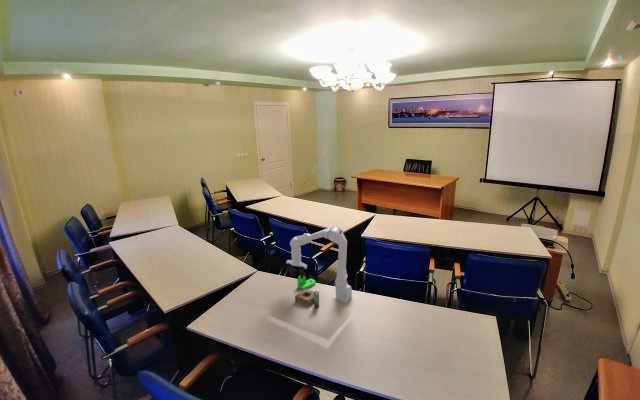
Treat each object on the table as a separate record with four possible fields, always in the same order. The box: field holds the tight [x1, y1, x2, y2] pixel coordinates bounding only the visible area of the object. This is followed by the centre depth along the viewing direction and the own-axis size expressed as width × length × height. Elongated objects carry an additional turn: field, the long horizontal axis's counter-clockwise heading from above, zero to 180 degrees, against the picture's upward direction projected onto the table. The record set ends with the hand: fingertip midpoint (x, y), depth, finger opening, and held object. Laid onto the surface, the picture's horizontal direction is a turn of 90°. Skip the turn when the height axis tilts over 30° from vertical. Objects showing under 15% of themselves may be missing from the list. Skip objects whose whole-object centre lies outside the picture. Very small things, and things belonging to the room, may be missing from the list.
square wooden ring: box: [294, 288, 315, 307], centre depth 171 cm, size 10×10×4 cm
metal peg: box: [313, 290, 320, 309], centre depth 163 cm, size 3×3×9 cm
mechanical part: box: [297, 275, 316, 291], centre depth 187 cm, size 12×6×8 cm, turn 134°
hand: (297, 276), depth 179 cm, fingers open, 7 cm apart
